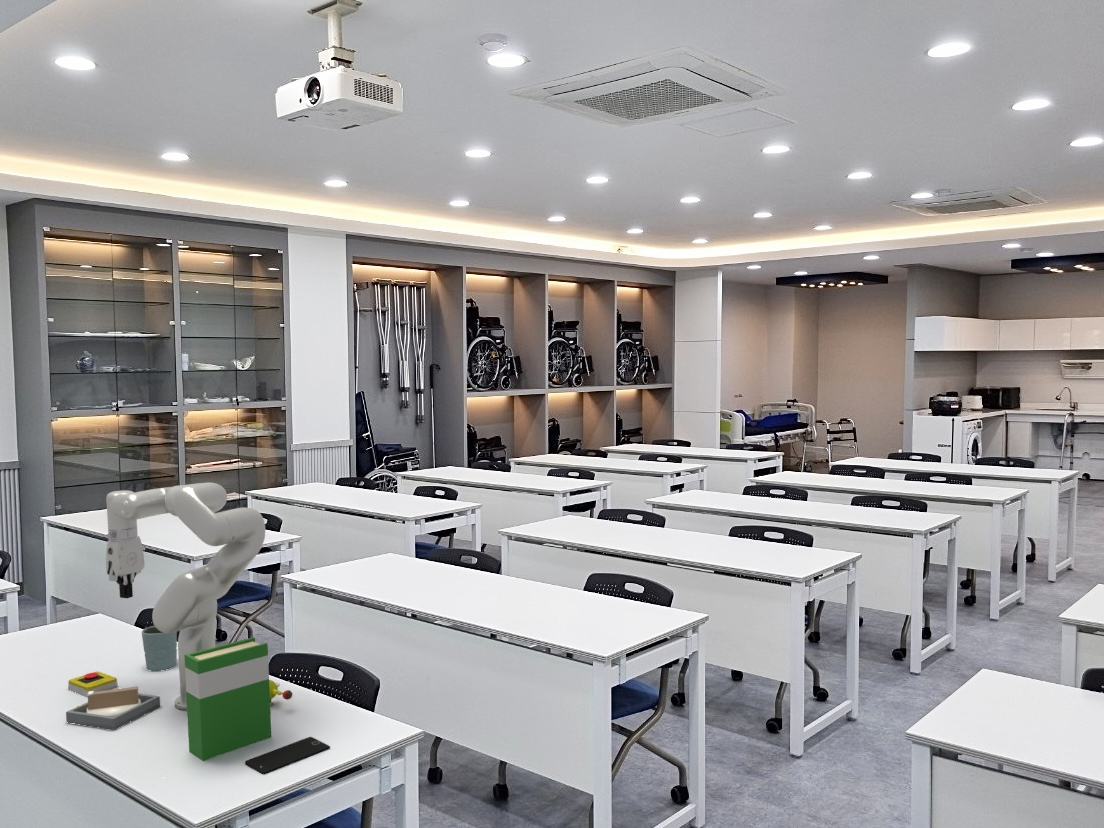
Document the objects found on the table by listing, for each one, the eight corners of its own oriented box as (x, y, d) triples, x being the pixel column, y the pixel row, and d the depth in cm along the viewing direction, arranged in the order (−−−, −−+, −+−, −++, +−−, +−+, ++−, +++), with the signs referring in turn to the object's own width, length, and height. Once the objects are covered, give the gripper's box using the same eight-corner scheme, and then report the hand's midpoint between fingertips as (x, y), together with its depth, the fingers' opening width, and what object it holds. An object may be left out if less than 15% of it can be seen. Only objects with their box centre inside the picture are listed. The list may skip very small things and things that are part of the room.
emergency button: (95, 665, 268) (122, 675, 260) (95, 680, 269) (123, 690, 260) (63, 675, 261) (90, 685, 252) (64, 690, 261) (91, 700, 252)
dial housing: (160, 706, 245) (159, 695, 245) (113, 730, 230) (113, 718, 230) (114, 700, 251) (114, 689, 251) (66, 723, 236) (65, 711, 236)
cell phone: (331, 750, 217) (330, 746, 217) (263, 776, 204) (263, 772, 204) (310, 739, 223) (310, 736, 223) (243, 765, 210) (243, 761, 210)
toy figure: (299, 707, 243) (299, 682, 243) (284, 714, 239) (283, 689, 238) (254, 695, 252) (253, 671, 252) (238, 702, 248) (237, 678, 247)
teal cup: (162, 673, 272) (160, 635, 271) (135, 670, 275) (133, 632, 274) (186, 662, 281) (184, 625, 280) (160, 659, 284) (158, 622, 284)
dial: (143, 698, 249) (142, 678, 248) (137, 716, 236) (136, 694, 236) (91, 705, 245) (90, 684, 244) (82, 723, 232) (81, 701, 232)
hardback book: (257, 729, 229) (253, 637, 228) (271, 737, 224) (267, 643, 223) (189, 751, 217) (184, 654, 215) (202, 761, 212) (197, 661, 210)
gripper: (112, 540, 248) (115, 605, 249) (153, 529, 262) (156, 591, 263) (91, 538, 250) (95, 603, 251) (132, 528, 264) (136, 589, 265)
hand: (126, 597), depth 257 cm, fingers closed
